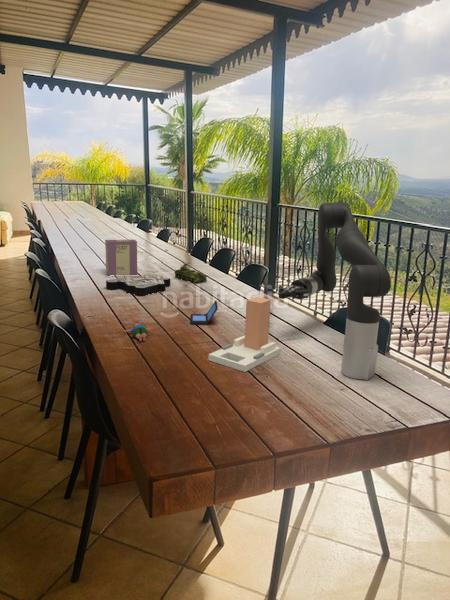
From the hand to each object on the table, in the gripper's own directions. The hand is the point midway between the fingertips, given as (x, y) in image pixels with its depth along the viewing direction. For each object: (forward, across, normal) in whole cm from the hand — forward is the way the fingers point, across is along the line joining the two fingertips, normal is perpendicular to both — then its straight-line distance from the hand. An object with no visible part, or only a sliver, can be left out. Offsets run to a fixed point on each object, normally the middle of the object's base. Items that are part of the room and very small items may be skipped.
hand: (280, 295), depth 162 cm
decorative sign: (-24, -96, +19) cm, 100 cm away
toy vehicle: (-57, -92, +19) cm, 110 cm away
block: (+15, 0, +15) cm, 21 cm away
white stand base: (+21, 0, +16) cm, 27 cm away
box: (-39, -130, +19) cm, 137 cm away
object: (-1, -35, +18) cm, 40 cm away
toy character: (+30, -40, +18) cm, 53 cm away
